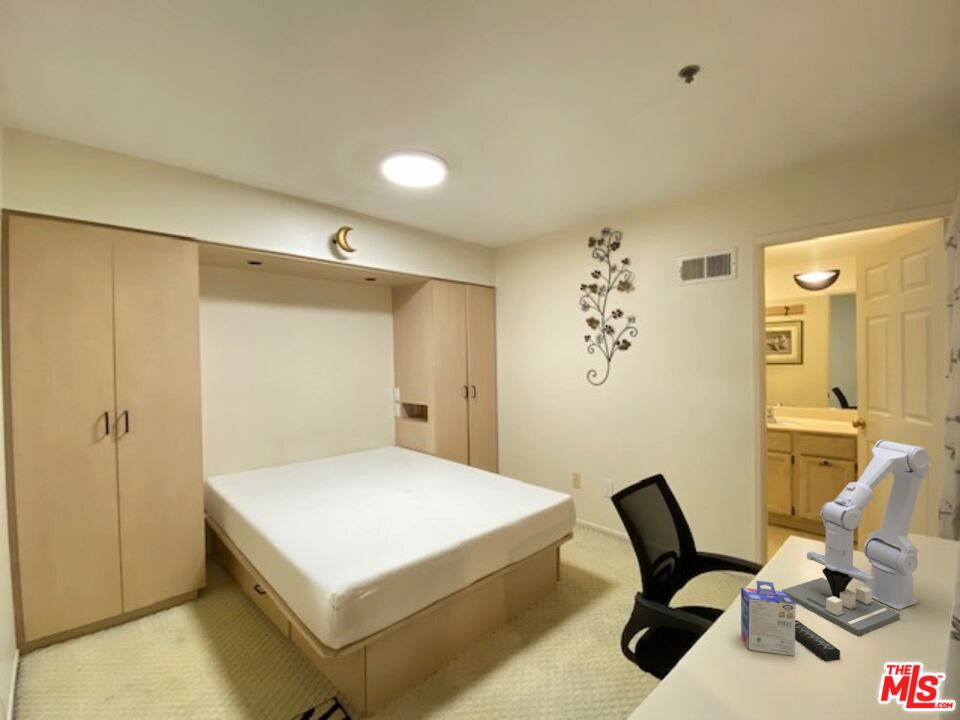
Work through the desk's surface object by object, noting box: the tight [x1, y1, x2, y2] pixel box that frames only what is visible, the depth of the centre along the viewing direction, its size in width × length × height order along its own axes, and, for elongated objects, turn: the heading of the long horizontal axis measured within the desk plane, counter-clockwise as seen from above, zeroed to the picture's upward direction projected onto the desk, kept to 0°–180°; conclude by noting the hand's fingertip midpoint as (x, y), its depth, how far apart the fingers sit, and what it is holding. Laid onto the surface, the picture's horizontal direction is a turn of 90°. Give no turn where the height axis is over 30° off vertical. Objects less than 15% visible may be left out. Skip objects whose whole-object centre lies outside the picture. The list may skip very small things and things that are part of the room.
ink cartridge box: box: [740, 580, 797, 657], centre depth 98 cm, size 10×6×14 cm, turn 78°
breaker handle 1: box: [824, 596, 844, 616], centre depth 108 cm, size 3×3×3 cm
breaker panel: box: [781, 577, 901, 637], centre depth 113 cm, size 18×18×2 cm
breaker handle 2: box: [855, 585, 875, 605], centre depth 113 cm, size 3×3×3 cm
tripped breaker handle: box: [840, 589, 858, 609], centre depth 111 cm, size 3×3×3 cm
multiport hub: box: [795, 619, 841, 663], centre depth 99 cm, size 4×11×2 cm, turn 9°
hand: (837, 597), depth 113 cm, fingers closed
